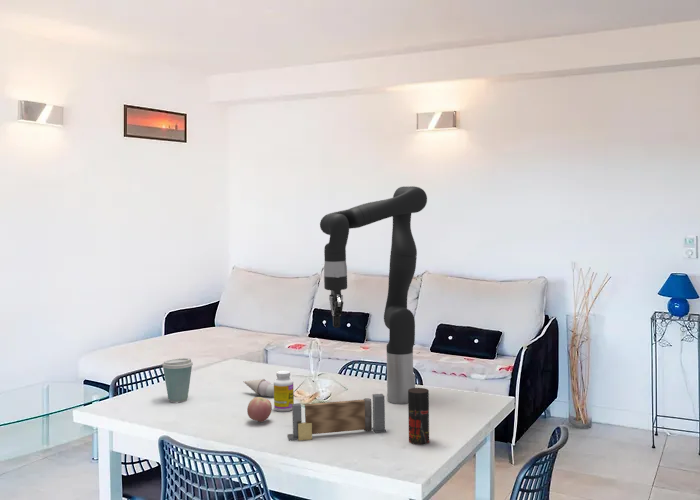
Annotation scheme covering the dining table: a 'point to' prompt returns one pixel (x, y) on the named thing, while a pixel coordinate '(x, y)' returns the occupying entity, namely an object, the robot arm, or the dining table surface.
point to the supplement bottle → (283, 392)
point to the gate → (339, 416)
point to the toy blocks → (299, 425)
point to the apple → (259, 409)
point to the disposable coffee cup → (177, 378)
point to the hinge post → (378, 413)
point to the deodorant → (418, 416)
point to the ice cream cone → (261, 387)
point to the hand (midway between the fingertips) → (336, 327)
